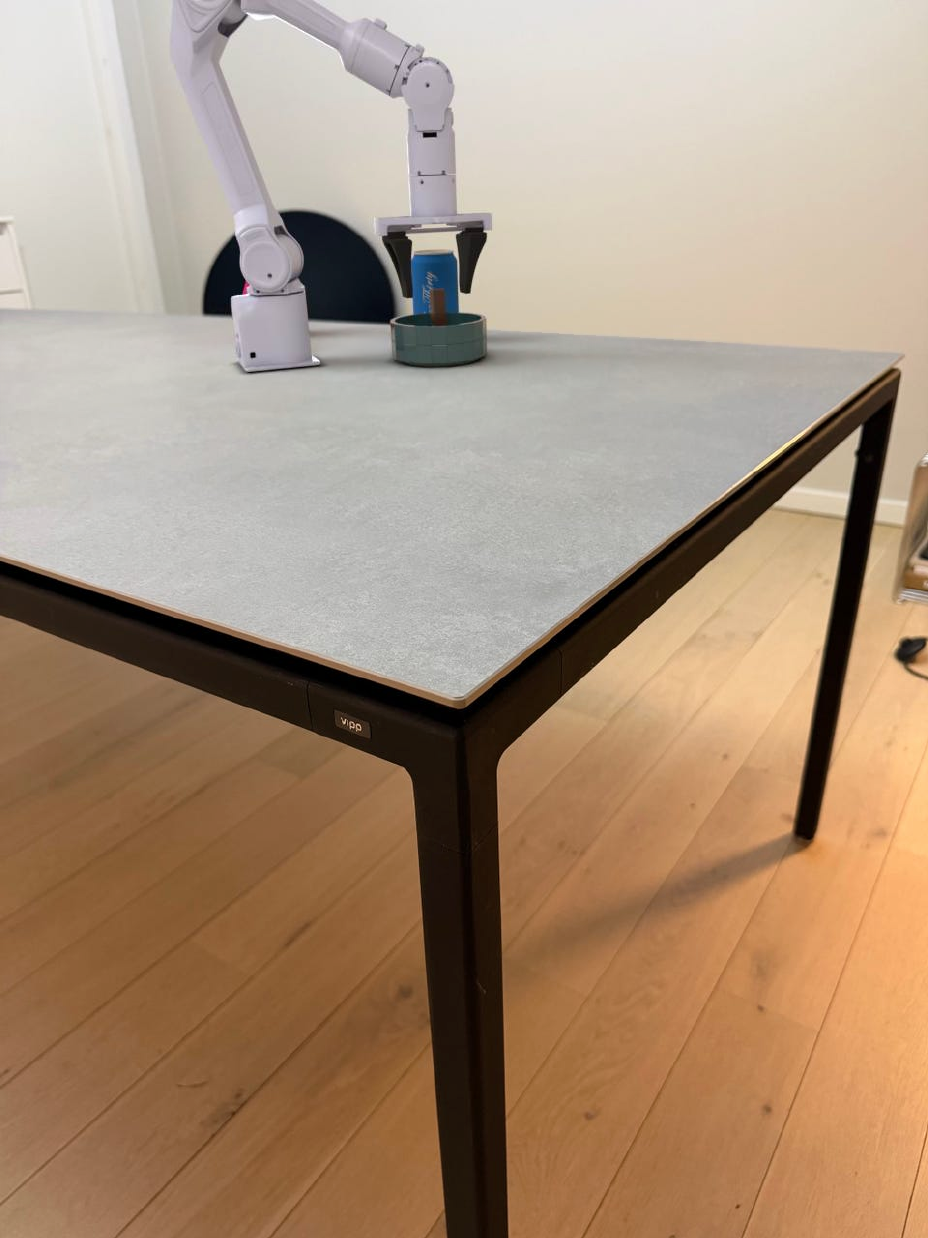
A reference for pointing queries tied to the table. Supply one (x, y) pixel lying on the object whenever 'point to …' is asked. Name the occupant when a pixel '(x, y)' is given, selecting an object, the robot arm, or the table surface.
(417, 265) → the beverage can
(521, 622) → the table surface
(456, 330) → the bowl
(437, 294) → the stirring stick
